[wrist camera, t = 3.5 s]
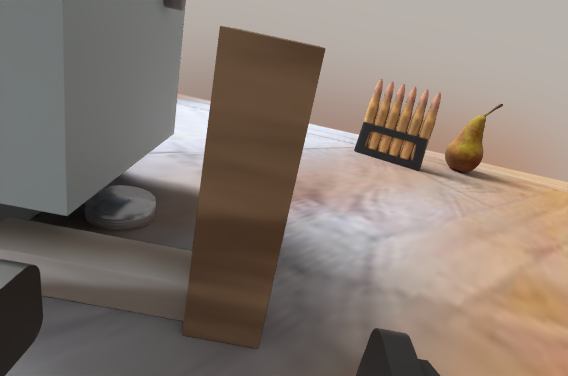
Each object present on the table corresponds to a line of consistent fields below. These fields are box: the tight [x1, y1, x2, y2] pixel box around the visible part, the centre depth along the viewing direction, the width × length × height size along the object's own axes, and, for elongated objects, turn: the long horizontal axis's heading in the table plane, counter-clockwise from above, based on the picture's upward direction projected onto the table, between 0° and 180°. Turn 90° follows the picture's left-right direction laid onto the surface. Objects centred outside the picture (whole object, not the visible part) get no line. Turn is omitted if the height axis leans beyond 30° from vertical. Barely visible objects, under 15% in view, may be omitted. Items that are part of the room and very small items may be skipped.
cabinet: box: [0, 0, 186, 222], centre depth 25 cm, size 19×12×21 cm, turn 178°
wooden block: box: [0, 26, 325, 349], centre depth 18 cm, size 4×16×15 cm, turn 88°
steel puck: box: [85, 185, 156, 231], centre depth 29 cm, size 5×5×2 cm
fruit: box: [445, 104, 503, 172], centre depth 62 cm, size 6×6×12 cm
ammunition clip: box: [354, 79, 441, 171], centre depth 59 cm, size 11×2×12 cm, turn 64°
